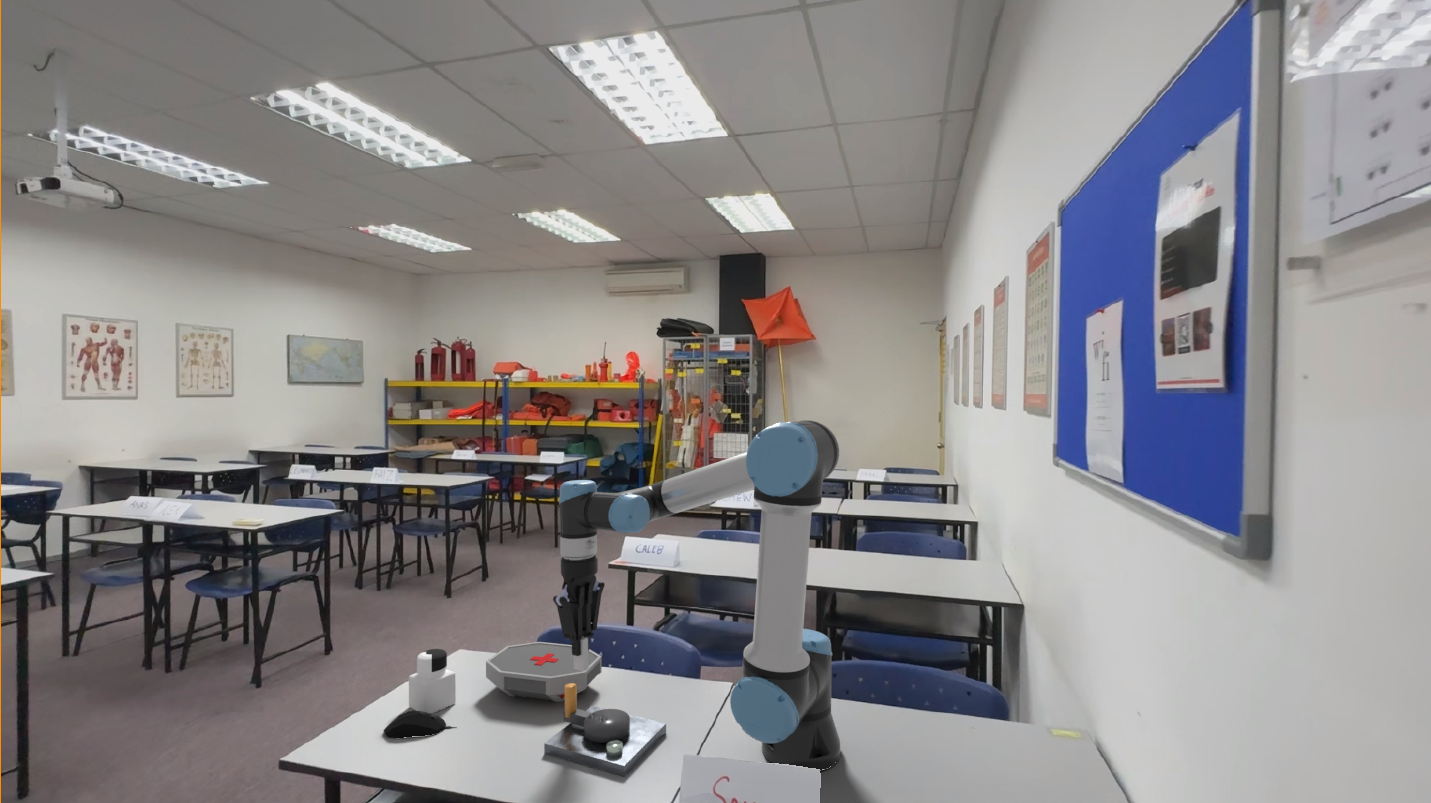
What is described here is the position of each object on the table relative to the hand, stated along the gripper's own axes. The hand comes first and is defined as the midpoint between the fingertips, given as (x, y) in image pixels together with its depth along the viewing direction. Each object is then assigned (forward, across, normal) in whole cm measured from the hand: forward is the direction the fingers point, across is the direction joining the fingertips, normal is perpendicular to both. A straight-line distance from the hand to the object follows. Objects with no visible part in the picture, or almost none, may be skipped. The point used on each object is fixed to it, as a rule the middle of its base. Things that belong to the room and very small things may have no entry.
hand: (581, 668), depth 131 cm
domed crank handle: (+10, -2, -6) cm, 11 cm away
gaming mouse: (+12, -18, +28) cm, 35 cm away
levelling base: (+13, -2, -8) cm, 15 cm away
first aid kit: (+12, +8, +19) cm, 24 cm away
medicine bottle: (+12, -11, +35) cm, 38 cm away
